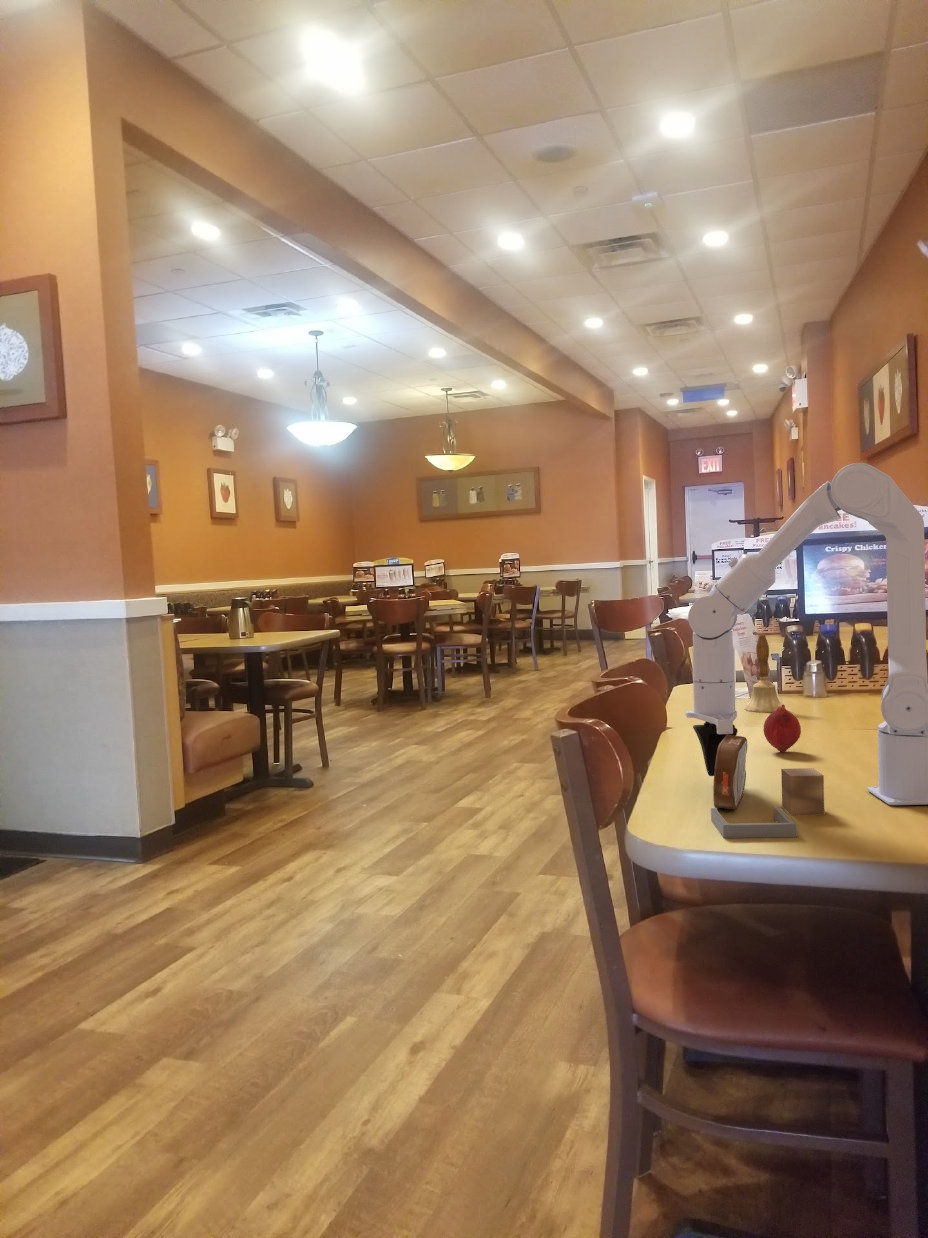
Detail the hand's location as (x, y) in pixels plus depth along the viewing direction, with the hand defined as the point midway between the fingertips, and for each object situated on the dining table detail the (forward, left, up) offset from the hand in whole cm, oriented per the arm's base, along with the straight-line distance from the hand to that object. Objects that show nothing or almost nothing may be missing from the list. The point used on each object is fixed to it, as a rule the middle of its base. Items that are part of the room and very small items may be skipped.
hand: (716, 775), depth 126 cm
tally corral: (0, +21, -1) cm, 21 cm away
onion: (-15, -21, -2) cm, 26 cm away
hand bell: (-23, -64, -2) cm, 68 cm away
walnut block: (-8, +14, -2) cm, 16 cm away
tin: (0, +9, -2) cm, 9 cm away
